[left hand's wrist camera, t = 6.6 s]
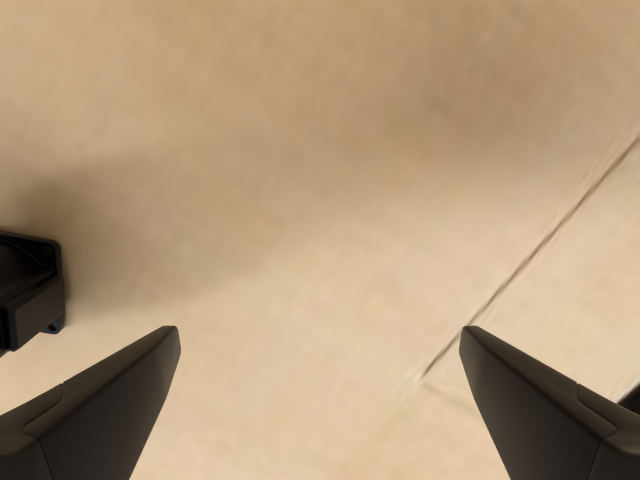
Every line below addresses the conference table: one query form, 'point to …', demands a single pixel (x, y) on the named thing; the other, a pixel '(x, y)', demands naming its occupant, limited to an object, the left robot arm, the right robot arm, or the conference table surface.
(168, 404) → the conference table surface
